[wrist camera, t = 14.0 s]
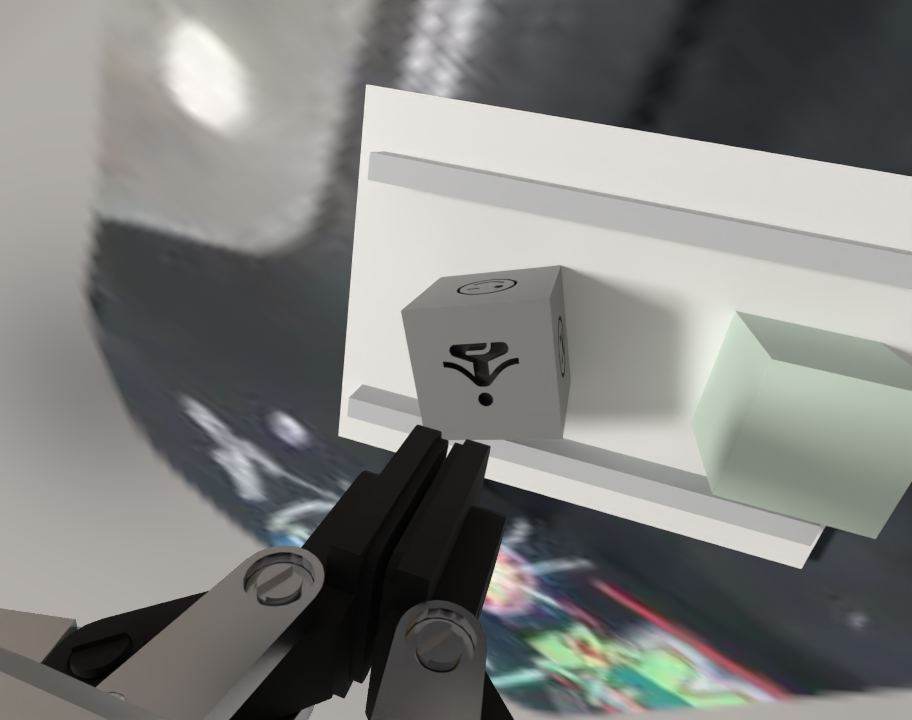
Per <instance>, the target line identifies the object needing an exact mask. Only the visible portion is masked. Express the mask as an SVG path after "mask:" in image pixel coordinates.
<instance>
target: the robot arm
mask: <svg viewBox="0 0 912 720" xmlns="http://www.w3.org/2000/svg"><path fill="white" fill-rule="evenodd" d="M448 445H449V441H448V440H446V439H442V432H441V431H439V430H435V429H432V428H429V427H425V426H422V425H416V426H415V427H414V429H413V430H412V431H411V433H410V434H409V435H408V437H407V438H406V440H405V441H404V442H403V444H402V445H401V446H400V448H399V449H398V450H397V452H396V453H395V454H394V456H393V457H392V459H391V460H390V461H389V463H388V464H387V465H386V467H385V468H384V469H383V471H382V472H381V474H380V475H379V474H376V473H373V472H370V471H367V470H366V471H363V472H362V473H361V474H360V475H359V476H358V477H357V478H356V480H355V481H354V482H353V483H352V485H351V486H350V487H349V488H348V490H347V491H346V492H345V493H344V495H343V496H342V497H341V498H340V500H339V501H338V502H337V503H336V505H335V506H334V507H333V509H332V510H331V511H330V512H329V514H328V515H327V516H326V517H325V519H324V520H323V521H322V522H321V524H320V525H319V526H318V527H317V529H316V530H315V531H314V532H313V534H312V535H311V536H310V537H309V539H308V540H307V541H306V542H305V544H304V545H303V546H302V547H301V548H299V547H295V546H277V547H270V548H267V549H264V550H262V551H259V552H257V553H255V554H254V555H252V556H251V557H249V558H248V559H246V560H245V561H244V562H243V563H241V564H240V565H239V566H238V567H237V568H236V569H234V570H233V571H232V572H231V573H230V574H229V575H227V576H226V577H225V578H224V579H223V580H221V581H220V582H219V583H218V584H217V585H215V586H214V587H213V588H212V589H211V590H210V591H207V592H203V593H199V594H195V595H191V596H187V597H184V598H180V599H176V600H172V601H168V602H165V603H161V604H157V605H153V606H150V607H146V608H142V609H138V610H134V611H131V612H127V613H123V614H119V615H115V616H111V617H108V618H104V619H101V620H98V621H95V622H93V623H90V624H87V625H85V626H83V627H77V624H76V620H75V619H69V618H62V617H55V616H48V615H42V614H35V613H28V612H20V611H14V610H7V609H0V720H308V719H309V717H310V715H311V713H312V711H313V708H314V705H315V704H318V703H321V702H323V701H326V700H328V699H331V698H332V696H333V694H335V695H337V696H340V697H342V698H345V696H346V694H347V692H348V690H349V688H350V686H351V684H352V682H353V680H354V681H356V682H359V683H363V681H364V680H365V678H366V676H367V674H368V672H369V670H370V668H371V674H370V682H369V689H368V697H367V704H366V711H365V713H366V716H367V718H368V720H514V719H513V717H512V716H511V714H510V712H509V710H508V709H507V707H506V705H505V704H504V702H503V700H502V699H501V697H500V695H499V693H498V692H497V690H496V688H495V687H494V685H493V683H492V681H491V680H490V678H489V676H488V675H487V673H486V671H485V666H486V655H487V642H486V635H485V633H484V630H483V628H482V626H481V624H480V622H479V621H478V620H479V617H480V614H481V610H482V607H483V604H484V601H485V597H486V594H487V591H488V587H489V584H490V581H491V577H492V574H493V570H494V567H495V563H496V560H497V556H498V552H499V549H500V545H501V541H502V537H503V533H504V529H505V525H506V521H507V515H504V514H501V513H498V512H494V511H491V510H488V509H485V508H482V507H479V506H478V504H479V500H480V495H481V491H482V486H483V482H484V477H485V473H486V468H487V463H488V459H489V454H490V448H491V446H489V445H486V444H483V443H479V442H476V441H472V440H469V439H466V440H465V442H464V443H463V444H459V443H454V445H453V447H452V448H451V450H450V452H449V454H448V456H447V451H448ZM446 456H447V457H446ZM371 666H372V667H371Z"/></svg>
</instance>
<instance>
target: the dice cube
mask: <svg viewBox="0 0 912 720" xmlns="http://www.w3.org/2000/svg"><path fill="white" fill-rule="evenodd" d="M401 314H402V320H403V325H404V330H405V335H406V340H407V346H408V351H409V356H410V361H411V366H412V372H413V377H414V382H415V387H416V392H417V398H418V403H419V408H420V413H421V418H422V424H423V426H425V427H429V428H432V429H435V430H439V431H441V432H442V439H446V440H466V439H469V440H529V439H563V433H564V426H565V419H566V412H567V404H568V397H569V390H570V383H571V378H570V366H569V354H568V342H567V331H566V319H565V307H564V295H563V284H562V272H561V265H557V266H547V267H537V268H527V269H517V270H507V271H497V272H487V273H477V274H467V275H457V276H447V277H440V278H439V279H438V280H437V281H436V282H434V283H433V284H432V285H431V286H430V287H429V288H427V289H426V290H425V291H424V292H423V293H421V294H420V295H419V296H418V297H417V298H415V299H414V300H413V301H412V302H411V303H409V304H408V305H407V306H406V307H405V308H404V309H402V310H401Z"/></svg>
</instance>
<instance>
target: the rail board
mask: <svg viewBox="0 0 912 720" xmlns="http://www.w3.org/2000/svg"><path fill="white" fill-rule="evenodd" d="M557 265H561V272H562V284H563V295H564V307H565V319H566V331H567V342H568V354H569V366H570V378H571V383H570V390H569V397H568V404H567V412H566V419H565V426H564V433H563V439H529V440H472V441H476V442H479V443H483V444H486V445H489V446H491V448H490V454H489V459H488V463H487V468H486V473H485V477H484V478H487V479H490V480H494V481H497V482H501V483H504V484H508V485H511V486H515V487H518V488H522V489H525V490H529V491H532V492H536V493H539V494H543V495H546V496H549V497H553V498H556V499H560V500H563V501H567V502H570V503H574V504H577V505H581V506H584V507H588V508H591V509H595V510H598V511H602V512H605V513H609V514H612V515H616V516H619V517H622V518H626V519H629V520H633V521H636V522H640V523H643V524H647V525H650V526H654V527H657V528H661V529H664V530H668V531H671V532H675V533H678V534H682V535H685V536H688V537H692V538H695V539H699V540H702V541H706V542H709V543H713V544H716V545H720V546H723V547H727V548H730V549H734V550H737V551H741V552H744V553H748V554H751V555H755V556H758V557H761V558H765V559H768V560H772V561H775V562H779V563H782V564H786V565H789V566H793V567H796V568H800V569H802V567H803V565H804V563H805V562H806V560H807V558H808V556H809V555H810V553H811V551H812V549H813V548H814V546H815V544H816V542H817V540H818V539H819V537H820V535H821V533H822V532H823V530H824V528H825V526H830V527H833V528H837V529H841V530H844V531H848V532H851V533H855V534H859V535H862V536H866V537H870V538H873V539H876V538H877V536H878V534H879V533H880V531H881V530H882V528H883V526H884V525H885V523H886V522H887V520H888V518H889V517H890V515H891V514H892V512H893V510H894V509H895V507H896V506H897V504H898V502H899V501H900V499H901V498H902V496H903V494H904V493H905V491H906V490H907V488H908V486H909V485H910V483H911V482H912V177H910V176H904V175H898V174H892V173H886V172H880V171H874V170H869V169H863V168H857V167H851V166H845V165H839V164H833V163H827V162H821V161H815V160H810V159H804V158H798V157H792V156H786V155H780V154H774V153H768V152H762V151H756V150H750V149H745V148H739V147H733V146H727V145H721V144H715V143H709V142H703V141H697V140H691V139H685V138H680V137H674V136H668V135H662V134H656V133H650V132H644V131H638V130H632V129H626V128H620V127H615V126H609V125H603V124H597V123H591V122H585V121H579V120H573V119H567V118H561V117H555V116H550V115H544V114H538V113H532V112H526V111H520V110H514V109H508V108H502V107H496V106H490V105H485V104H479V103H473V102H467V101H461V100H455V99H449V98H443V97H437V96H431V95H426V94H420V93H414V92H408V91H402V90H396V89H390V88H384V87H378V86H372V85H366V94H365V107H364V120H363V132H362V145H361V158H360V170H359V183H358V196H357V208H356V221H355V234H354V246H353V259H352V271H351V284H350V297H349V309H348V322H347V335H346V347H345V360H344V373H343V385H342V398H341V411H340V423H339V436H341V437H344V438H348V439H351V440H355V441H358V442H362V443H365V444H369V445H372V446H376V447H379V448H383V449H386V450H390V451H393V452H397V450H398V449H399V448H400V446H401V445H402V444H403V442H404V441H405V440H406V438H407V437H408V435H409V434H410V433H411V431H412V430H413V429H414V427H415V426H416V425H422V426H423V424H422V418H421V413H420V408H419V403H418V398H417V392H416V387H415V382H414V377H413V372H412V366H411V361H410V356H409V351H408V346H407V340H406V335H405V330H404V325H403V320H402V314H401V310H402V309H404V308H405V307H406V306H407V305H408V304H409V303H411V302H412V301H413V300H414V299H415V298H417V297H418V296H419V295H420V294H421V293H423V292H424V291H425V290H426V289H427V288H429V287H430V286H431V285H432V284H433V283H434V282H436V281H437V280H438V279H439V278H440V277H447V276H457V275H467V274H477V273H487V272H497V271H507V270H517V269H527V268H537V267H547V266H557ZM448 441H449V445H448V451H447V456H448V454H449V452H450V450H451V448H452V447H453V445H454V443H459V444H463V443H464V442H465V440H448ZM447 456H446V457H447Z"/></svg>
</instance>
